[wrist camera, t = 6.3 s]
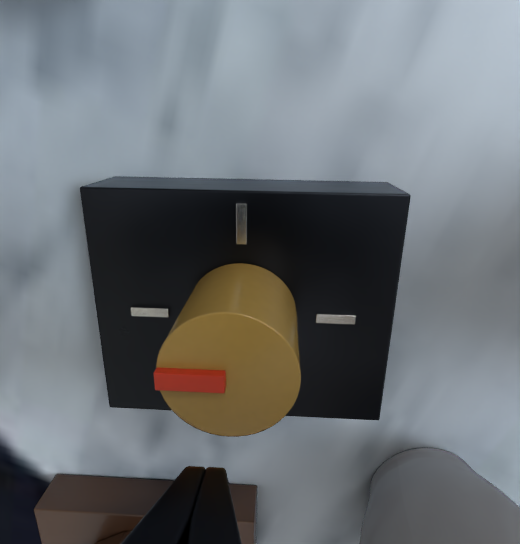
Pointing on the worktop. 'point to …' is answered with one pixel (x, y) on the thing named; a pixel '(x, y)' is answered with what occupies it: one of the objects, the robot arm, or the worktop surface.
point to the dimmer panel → (256, 251)
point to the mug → (436, 503)
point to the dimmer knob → (232, 353)
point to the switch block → (117, 508)
